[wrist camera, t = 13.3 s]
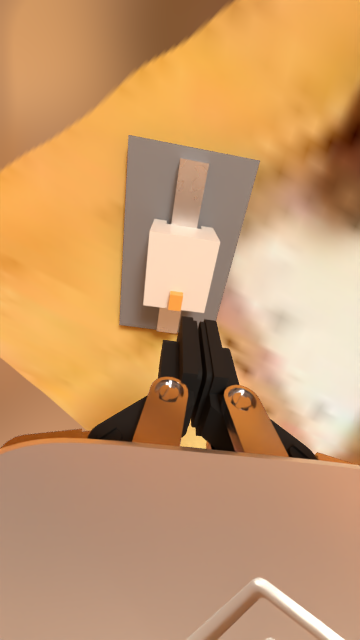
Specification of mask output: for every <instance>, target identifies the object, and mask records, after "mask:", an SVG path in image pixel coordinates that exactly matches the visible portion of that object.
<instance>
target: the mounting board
mask: <svg viewBox="0 0 360 640" xmlns="http://www.w3.org/2000/svg"><path fill="white" fill-rule="evenodd" d="M180 158H182V159H187V160H192V161H197V162H203V163H208V164H209V167H208V172H207V177H206V183H205V188H204V193H203V198H202V204H201V209H200V214H199V220H198V225H197V228H198V229H200V228H201V226H205V227H211V228H213V229H214V231H215V233H216V235H217V236H218V238H219V240H220V246H219V250H218V255H217V259H216V264H215V268H214V272H213V277H212V281H211V285H210V290H209V294H208V298H207V303H206V307H205V311H204V313H200V312H192V311H184V310H181V315H180V320H179V325H178V331H177V332H179V327H180V321H181V317H182V316H186V317H193V320H194V321H197V326H199V322H200V321H201V322H203V321H204V319H207V320H215V321H216V318H217V315H218V311H219V307H220V304H221V300H222V297H223V293H224V289H225V286H226V282H227V278H228V275H229V271H230V268H231V264H232V260H233V257H234V253H235V249H236V246H237V242H238V238H239V235H240V231H241V228H242V224H243V220H244V217H245V213H246V209H247V206H248V202H249V199H250V195H251V191H252V188H253V184H254V180H255V177H256V173H257V169H258V166H259V162H260V161H259V160H254V159H249V158H243V157H238V156H233V155H228V154H223V153H218V152H213V151H208V150H203V149H198V148H193V147H187V146H182V145H177V144H172V143H167V142H162V141H157V140H152V139H147V138H142V137H136V136H131V135H129V140H128V160H127V181H126V202H125V222H124V243H123V264H122V284H121V305H120V325H125V326H132V327H140V328H148V329H155V330H157V323H158V316H159V309H160V307H153V306H145V305H143V301H144V290H145V278H146V267H147V255H148V244H149V232H150V229H151V226H152V224H153V222H154V219H160V220H166V221H167V224H171V222H172V215H173V208H174V200H175V193H176V186H177V179H178V172H179V164H180Z"/></svg>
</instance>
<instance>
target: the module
mask: <svg viewBox="0 0 360 640" xmlns="http://www.w3.org/2000/svg"><path fill="white" fill-rule="evenodd" d="M219 246H220V240H219V238H218V236H217V235H216V233H215V231H214V229H213V228H211V227H205V226H201V228H200V229H198V228H191V227H185V226H178V225H172V224H167V221H166V220H160V219H154V222H153V224H152V226H151V229H150V232H149V244H148V255H147V267H146V278H145V290H144V301H143V305H145V306H153V307H161V308H168V310H174V311H181V310H184V311H192V312H200V313H204V311H205V307H206V303H207V298H208V294H209V290H210V285H211V281H212V277H213V272H214V268H215V264H216V259H217V255H218V250H219Z"/></svg>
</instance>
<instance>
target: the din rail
mask: <svg viewBox="0 0 360 640" xmlns="http://www.w3.org/2000/svg"><path fill="white" fill-rule="evenodd" d="M208 167H209V164H208V163H203V162H197V161H192V160H187V159H182V158H180V164H179V172H178V179H177V186H176V193H175V200H174V208H173V215H172V222H171V224H172V225H178V226H185V227H191V228H197V225H198V220H199V214H200V209H201V204H202V198H203V193H204V188H205V183H206V177H207V172H208ZM180 315H181V311H174V310H168V308H161V307H160V309H159V316H158V323H157V331H160V332H167V333H175V334H177V331H178V325H179V320H180Z"/></svg>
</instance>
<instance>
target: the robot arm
mask: <svg viewBox="0 0 360 640" xmlns="http://www.w3.org/2000/svg"><path fill="white" fill-rule="evenodd" d="M190 419H191V426H192V427H196V436H202V437H203V438H204V439H205V440H206V441H207V443H206V449H202V448H192V447H181V446H180V442H181V438H182V437H183V436H184V435H185V434H186V432H187V428H188V426H189V423H190ZM0 640H360V465H356V464H353V463H350V462H347V461H343V460H340V459H337V458H334V457H331V456H327V455H324V454H321V453H318V452H317V453H316V454H315V455H314V454H313V453H312V451H311V450H310V449H309V448H307V447H306V446H305V445H304V444H302V443H301V442H300V441H298V440H297V439H296V438H295V437H293V436H292V435H291V434H289V433H288V432H287V431H285V430H284V429H283V428H281V427H280V426H279V425H277V424H276V423H275V422H273V421H272V420H271V419H269V417H268V415H267V413H266V411H265V409H264V407H263V405H262V403H261V401H260V399H259V398H258V396H257V395H256V394H255V393H254V392H253V391H252V390H250V389H249V388H247V387H244V386H241V385H239V382H238V378H237V375H236V371H235V367H234V363H233V360H232V356H231V352H230V350H229V349H228V348H222V345H221V340H220V336H219V332H218V327H217V323H216V321H215V320H207V319H204V321H203V322H201V321H200V322H199V326H197V321H194V320H193V317H186V316H182V317H181V321H180V327H179V332H178V337H177V342H176V341H168V340H163V344H162V350H161V357H160V364H159V373H158V379H156V380H155V381H154V382H153V383H152V385H151V387H150V390H149V393H148V395H147V396H146V397H144V398H142V399H141V400H139V401H137V402H136V403H134V404H132V405H131V406H129V407H127V408H126V409H124V410H122V411H120V412H119V413H117V414H115V415H114V416H112V417H110V418H109V419H107V420H105V421H104V422H102V423H100V424H99V425H97V426H96V427H95V428H93V429H92V431H84V432H82V429H74V430H65V431H55V432H46V433H35V434H25V435H21V436H17V437H14V438H13V439H11V440H9V441H7V442H6V443H5V444H4V445H3V446H2V447H1V448H0Z"/></svg>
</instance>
